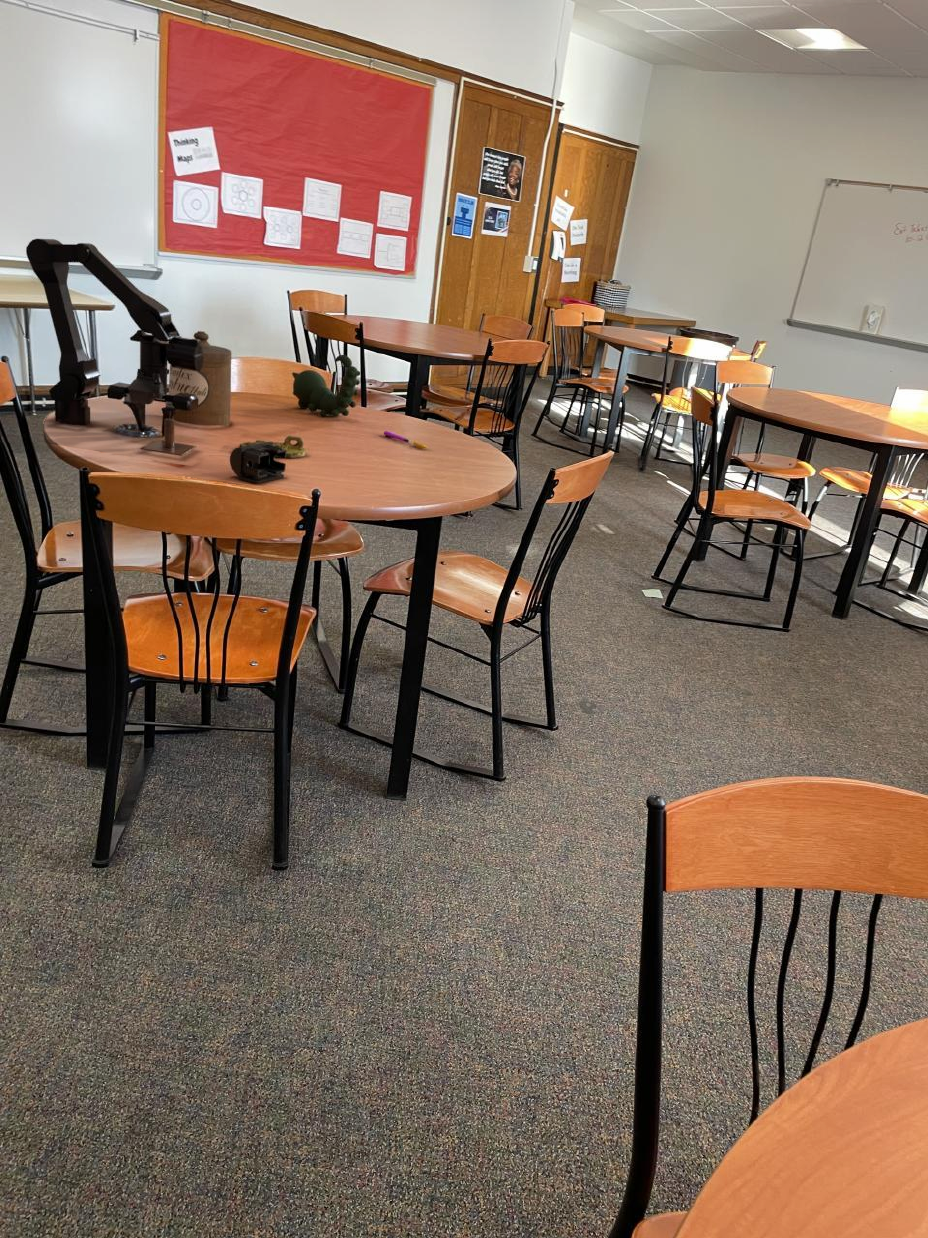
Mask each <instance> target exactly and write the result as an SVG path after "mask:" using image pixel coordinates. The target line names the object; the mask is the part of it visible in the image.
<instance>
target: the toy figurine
mask: <svg viewBox="0 0 928 1238" xmlns="http://www.w3.org/2000/svg"><path fill="white" fill-rule="evenodd" d="M334 362H336V363H337V362H341V364H342V366H343V367H344V368H346V369H345V372H344V373H345V374H344V375H343V377H342V384H341V385H340V387H339V391H338V392H337V393H333V392H332V390H331V389H330V388H329V387H328V386H327V382H326V380H325V378H324V377H323V375H321V374H320V372H318V371H315V370H313V369H305V370H303V371H300V372H293V371H292V372H291V375H292V377H293V378H294V380H293V384H292V390H293V391H292V395H293V396H295V397H296V398H297V399H298V401H297V404H298V406H299V408H301V409H304V410H305V409H308V410H309V411H310V412H311V413H315V412H317V411H319V415H320V416H321V417H323V418H324V417H327V416H332V417H336V418H337V417H339V415H340V414H341V415H342V416H343V417H348V416H349V414H350V411H349V409H347V408H349V407H350V408H351V409H352V408H355V407H357V404H356V402H355V401H354V400H353V397H354V396H358V395H359V391H358V390H356V386H359V385H360V383H361V382H360V380H359V379H357V378H358V377H359V376H361V371H360V370H358V368H357V367H355V366H353V362H352V360H351V358H350V357H349V356H348V355H345V354H339V355H338V356H336V358H335V360H334Z"/></svg>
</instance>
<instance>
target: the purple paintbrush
mask: <svg viewBox="0 0 928 1238" xmlns="http://www.w3.org/2000/svg"><path fill="white" fill-rule="evenodd" d="M383 435H384V436H386V437H389V438H391V439H392V438H393V439H395V440H398V441H401V442H403V443H411V444H413V446H414V447H416V448H421V449H423V450H425V449H428V448H429V447H427V446H426V445H425V444H423V443H421V442H418V441H414V442H413V441H410V439H408V438H406V437H403V436H401V435H399V434H395V433H394V432H390V431H389V430H385V431H384V432H383Z"/></svg>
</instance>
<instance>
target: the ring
mask: <svg viewBox="0 0 928 1238" xmlns="http://www.w3.org/2000/svg"><path fill="white" fill-rule="evenodd" d="M133 430H135V431H133ZM137 430H138V431H137ZM113 432H114V433H115V434H117V435H119V436H123V437H128V438H139V439H141V438H142V439H143V438H144V439H148V438H149V439H150V438H155V437H156V438H157V437H158V436H160V431H159V429H158V428H157V427H154V426H151V425H147V424H145V430H144V432H140V430H139V427H138V424H137V423H121V424H118V425H116V426H115V427H113Z"/></svg>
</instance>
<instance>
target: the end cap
mask: <svg viewBox="0 0 928 1238" xmlns="http://www.w3.org/2000/svg"><path fill="white" fill-rule="evenodd" d="M273 442H274V441H266V442H264V443H258V444H253V445H248V446H242V447H239V446H237V447H235V448H234V449H233V450H232V451H231V452H230V455H229V466H230V467H231V468H230V469H232V471H233V473H234V474H235V475H236V476H237V477H238V478H239V479H240V480H242V481H243V482H248V483H251V484H255V485H260V484H264V483H268V482H273V481H276V480H281V479H283V478H285V474H284V472H286V467H287V464H286V463H285V462H281V461H279V460H276V457H275V456H280V457H279V458H282V457H284V458H283V459H287V458H286V453H287V452H286V450H285V449H281V448H278V447H274V446H273Z"/></svg>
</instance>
